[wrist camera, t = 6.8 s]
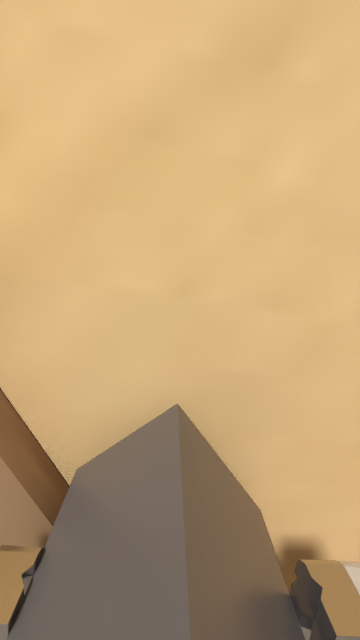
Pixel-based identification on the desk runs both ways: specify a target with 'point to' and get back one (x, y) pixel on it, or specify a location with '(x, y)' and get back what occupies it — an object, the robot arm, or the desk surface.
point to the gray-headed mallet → (157, 550)
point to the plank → (26, 484)
